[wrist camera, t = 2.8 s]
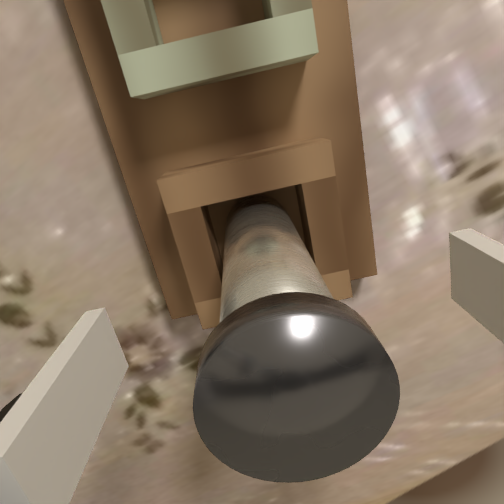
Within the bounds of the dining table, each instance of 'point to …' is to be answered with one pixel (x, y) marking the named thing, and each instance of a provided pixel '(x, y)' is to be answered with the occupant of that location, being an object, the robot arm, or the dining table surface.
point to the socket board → (231, 130)
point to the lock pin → (287, 360)
